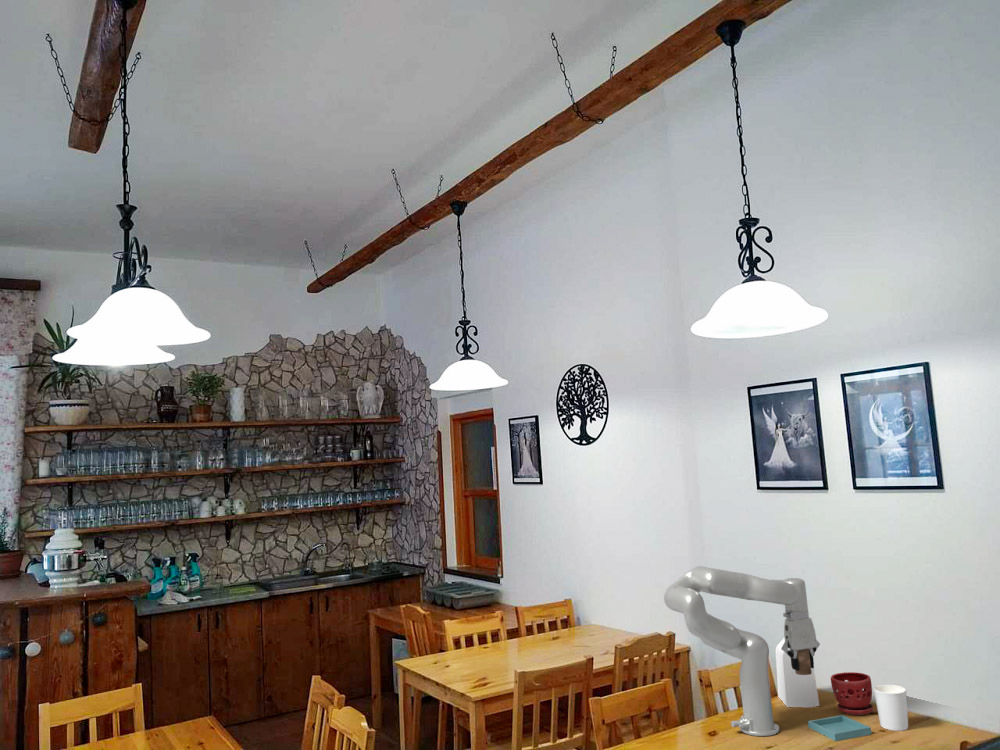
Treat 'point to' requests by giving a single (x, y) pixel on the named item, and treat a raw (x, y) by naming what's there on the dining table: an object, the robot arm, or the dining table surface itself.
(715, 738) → the dining table surface
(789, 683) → the milk
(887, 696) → the candle holder
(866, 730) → the tray
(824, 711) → the dining table surface
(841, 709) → the plant pot
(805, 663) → the pepper mill
